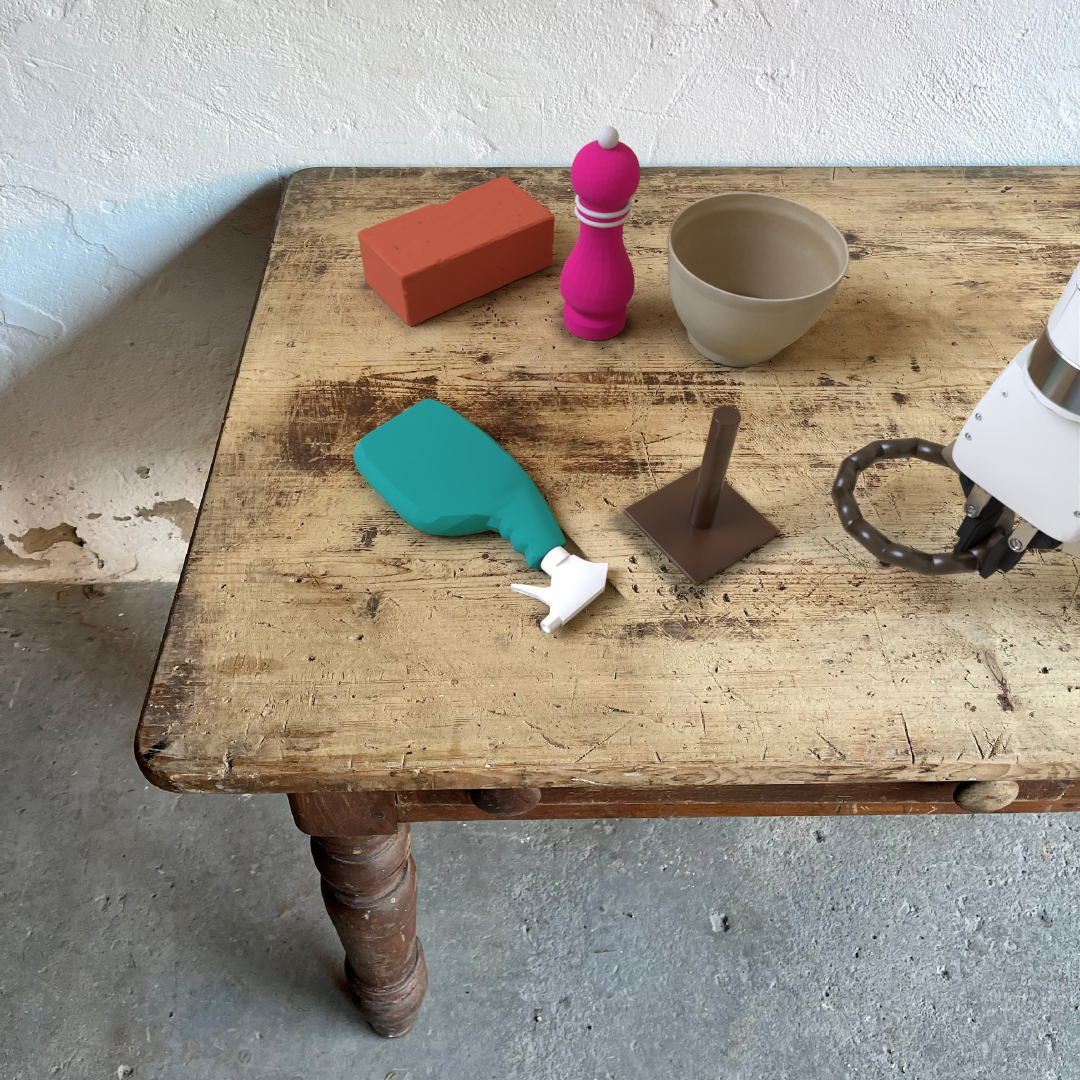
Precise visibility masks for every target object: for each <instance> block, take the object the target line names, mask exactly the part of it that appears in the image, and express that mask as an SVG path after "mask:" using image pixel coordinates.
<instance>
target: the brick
mask: <svg viewBox="0 0 1080 1080" xmlns="http://www.w3.org/2000/svg"><path fill="white" fill-rule="evenodd" d="M555 220H556V217H555V214H553V213H552V212H551V211H550V210H549V209H548V208H547V207H546V206H544V205H543V204H541V202H539V201H538V200H537V199H536V198H534V197H533V196H531V195H530V194H529V193H528V192H527V191H526V190H524V189H522V187H520V186H518V185H517V184H516V182H514V181H513V180H512V179H511V178H510V177H508V176H506V175H501V176H499V177H497V178H494V179H492V180H488V181H486V182H484V183H483V184H480V185H477V186H476V187H472V188H469V189H467V190H464V191H462V192H459V193H457V194H455V195H454V196H452V197H451V198H450V199H448V200H447V201H446V202H445V203H430V204H428V205H425V206H423V207H419V208H417V209H415V210H412V211H409V212H406V213H403V214H400V215H398V216H395V217H392V218H390V219H388V220H385V221H382V222H380V223H377V224H374V225H372V226H369V227H368V228H364V229H361V230H359V231H358V232H357V239H358V242H359V245H358V246H359V251H360V257H361V262H362V268H363V274H364V278H365V282H366V284H367V285H368V286H369V287H370V288H371V289H372V290H373V291H374V292H375V293H376V294H377V295H378V297H379V298H380V299H382V301H384V303H386V305H388V306H389V308H390V309H391V310H392V311H393V313H395V314H396V315H397V316H398V317H399V318H400V319H401V320H402V321H403V323H404V324H406V325H407V326H409V327H413V326H415V325H417V324H420V323H422V322H424V321H426V320H428V319H430V318H432V317H435V316H437V315H439V314H442V313H444V312H446V311H449V310H452V309H453V308H455V307H458V306H460V305H462V304H465V303H467V302H468V301H472V300H473V299H476V298H480V297H482V296H485V295H486V294H489V293H491V292H492V291H494V290H497V289H500V288H502V287H504V286H505V285H509V284H510V283H513V282H515V281H517V280H519V279H522V278H524V277H527V276H529V275H532V274H534V273H537V272H539V271H542V270H544V269H546V268H548V267H551V266H552V265H554V243H555V222H556V221H555Z"/></svg>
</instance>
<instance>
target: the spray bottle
mask: <svg viewBox="0 0 1080 1080" xmlns="http://www.w3.org/2000/svg"><path fill="white" fill-rule="evenodd" d="M353 462H354V464H355V467H356V469H357V470H358V471H359V473H360V474H361V475H362V477H363V478H364V479H365V481H366V482H367V483H368V485H369V486H370V487H371V488H372V489H373V490H374V491H375V492H376V493H377V495H379V496H380V497H381V499H383V501H385V502H386V504H387V505H389V506H390V507H391V509H392V510H393V511H394V512H395V513H396V514H397V515H398V516H399V517H400V518H401V519H402V520H404V522H406V523H407V524H408V525H410V526H411V527H412V528H414V529H415V530H417V531H420V532H423V533H426V534H429V535H432V536H446V537H459V536H468V535H475V534H478V533H484V532H487V531H493V532H495V533H498V534H500V536H501V538H502V539H503V540H507V541H509V542H510V544H511V546H512V549H513V550H514V552H517V553H519V554H522V555H524V556H525V561H526V563H527V567H528V569H530V570H536V571H542V570H543V571H544V572H545V573H546V574H547V575H549V577H550V586H547V587H540V586H533V585H528V584H523V583H522V584H521V583H511V584H510V590H511V591H514V592H516V593H520V594H523V595H525V596H528V597H531V598H534V599H537V600H539V601H540V602H542V603H544V604H545V605H547V606H548V607H549V614H548V615H547V616H546V617H545V618H544V619H543V620H542V621H541V622H540V627H541V629H542V630H543V631H544V632H545V633H546V634H551V633H552V632H553V631H554V630H556V629H557V628H558V627H559V626H560V625H561V626H564V625H565V624H567V623H568V622H569V621H570V620H571V619H572V618H574V617H575V616H576V615H577V614H578V613H580V612H581V611H582V610H583V609H585V608H586V607H587V606H588V605H589V604H591V603H592V602H593V601H594V600H595V599H596V598H597V597H599V596H600V595H601V594H602V593H603V592H604V591H605V589H606V582H607V575H608V571H609V570H608V569H609V563H608V562H592V561H588V560H584V558H583V559H582V558H581V557H579V556H578V555H575V554H571V553H569V552H568V551H567V550H566V546H567V540H566V538H565V535H564V533H563V531H562V529H561V527H560V525H559V523H558V521H557V519H556V517H555V515H554V513H553V511H552V509H551V507H550V506H549V504H548V502H547V500H546V499H545V497H544V496H543V495H542V493H541V492H540V490H539V488H538V487H537V485H536V484H535V482H534V480H533V479H532V478H531V477H530V475H528V473H527V471H525V470H524V469H523V467H522V466H521V465H520V463H518V461H517V460H516V459H515V458H514V457H513V456H512V455H511V454H510V453H509V452H508V451H507V450H506V449H505V448H503V447H502V445H500V444H499V443H498V441H496V440H495V439H494V438H493V437H492V436H491V435H490V434H488V433H487V432H486V431H484V430H483V429H481V428H480V427H478V426H477V425H476V424H474V423H473V422H471V421H470V420H468V419H467V418H465V417H464V416H463V415H462V414H460V413H459V412H457V411H455V410H454V409H452V408H451V407H450V406H449V405H447V404H445V403H443V402H440V401H438V400H436V399H433V398H424V399H422V400H420V401H419V402H417V403H415V404H414V405H412V406H410V407H409V408H407V409H405V410H404V411H402V412H401V413H399V414H397V415H395V416H394V417H392V418H391V419H389V420H387V421H386V422H384V423H383V424H381V425H380V426H378V427H376V428H375V429H373V430H371V431H369V432H368V433H366V434H365V435H364V436H363V437H362V438H361V439H360V440H359V441H358V443H357V445H356V446H355V449H354V450H353Z"/></svg>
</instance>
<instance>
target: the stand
mask: <svg viewBox="0 0 1080 1080" xmlns="http://www.w3.org/2000/svg"><path fill="white" fill-rule="evenodd" d="M741 420H742V414H741V411H739V409H737V408H736V407H735V406H731V405H720V406H717V407H716V408H715V409H714V410H713V412H712V416H711V419H710V424H709V429H708V433H707V438H706V442H705V445H704V451H703V455H702V460H701V462H700V463H701V464H700V466H698V467H696V468H695V469H692V470H691V471H689V472H688V473H686V474H684V475H682V476H680V477H679V478H677V479H675V480H673V481H671V482H670V483H668V484H666V485H665V486H662V487H661V488H659V489H657V490H656V491H653V492H652V493H650V494H649V495H646V496H645V497H643V498H641V499H639V500H638V501H636V502H634V503H632V504H631V505H629V506H627V507H625V508H624V509H623V511H622V512H623V514H624V516H625V517H627V519H628V520H630V521H631V523H633V525H634V526H635V527H636V528H637V529H638V530H639V531H640V532H641V533H642V534H643V535H644V536H645V537H646V538H647V539H648V540H649V541H650V542H651V543H652V544H653V546H654V547H656V549H658V550H659V551H660V552H661V554H663V555H664V556H665V558H666V559H668V560H669V562H670V563H671V564H672V565H673V566H674V567H675V568H676V569H677V570H678V571H679V572H680V573H681V575H682V576H684V578H685V579H687V580H688V581H689V582H690V583H691V584H692V586H694V587H697V586H698V585H700V584H702V583H704V582H705V581H706V580H708V579H709V578H712V577H713V576H715V575H717V574H718V573H719V572H721V571H722V570H724V569H726V568H727V567H729V566H731V565H732V564H734V563H735V562H737V561H738V560H740V559H742V558H743V557H745V556H746V555H748V554H750V553H751V552H753V551H754V550H756V549H757V548H759V547H760V546H763V545H764V544H765V543H767V542H769V541H770V540H771V539H773V538H775V537H776V536H778V535H779V533H780V530H779V529H778V528H776V526H774V525H773V524H772V523H771V522H770V521H769V520H768V519H767V518H766V517H765V516H764V515H762V513H760V512H759V511H758V510H757V508H755V507H754V506H753V505H752V504H750V503H749V502H748V501H747V500H746V499H745V498H744V497H743V496H742V495H741V494H740V493H738V492H737V491H736V490H735V489H734V488H733V487H732V486H731V485H730V484H728V482H726V481H725V480H726V477H727V474H728V473H727V472H728V469H729V465H730V462H731V457H732V455H733V450H734V447H735V443H736V440H737V436H738V432H739V429H740V424H741Z"/></svg>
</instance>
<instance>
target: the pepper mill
mask: <svg viewBox="0 0 1080 1080" xmlns="http://www.w3.org/2000/svg"><path fill="white" fill-rule="evenodd" d="M619 139H620V134H619V132H618V130H617V129H616V128H615V127H614V126H612V125H607V126H603V127H601V129H600V130H599V131H598V134H597V139H596V140H593V141H590V142H588V143H587V144H585V145H582V147H581V149H579V151H578V152H577V153H576V155H575V156H574V159H573V160H572V164H571V168H570V169H571V170H570V183H571V186H572V188H573V190H574V192H575V193H576V196H575V197H574V198H575V199H574V202H575V206H574V213H575V216H576V217H577V219H578V220H579V230H578V231H579V232H578V237H577V240H576V242H575V245H574V247H573V248H572V250H571V252H570V254H569V255H568V257H567V259H566V260H565V262H564V265H563V268H562V270H561V273H560V280H559V291H560V294H561V297H562V299H563V300H564V304H563V323H564V326H565V327H566V329H567V330H568V331H569V332H570V333H571V334H573V335H574V336H576V337H577V338H581V339H584V340H588V341H603V340H608V339H612V338H613V337H616V336H617V335H619V333H621V332H622V331H623V330H624V328H625V325H626V321H627V312H628V306H627V305H628V304H630V302H631V300H632V298H633V296H634V293H635V272H634V269H633V265H632V262H631V259H630V257H629V254H628V252H627V249H626V247H625V244H624V225H625V223H626V222H627V221H628V220H629V219H630V217H631V214H632V208H631V207H632V205H633V201H632V196H633V195H634V194H635V193H636V192H637V189H638V188H639V185H640V181H641V165H640V161H639V159H638V157H637V155H636V153H635V152H634V150H633V149H632V148H631V147H630V146H628V145H627V144H626V143H625V142H622V141H620V140H619Z"/></svg>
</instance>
